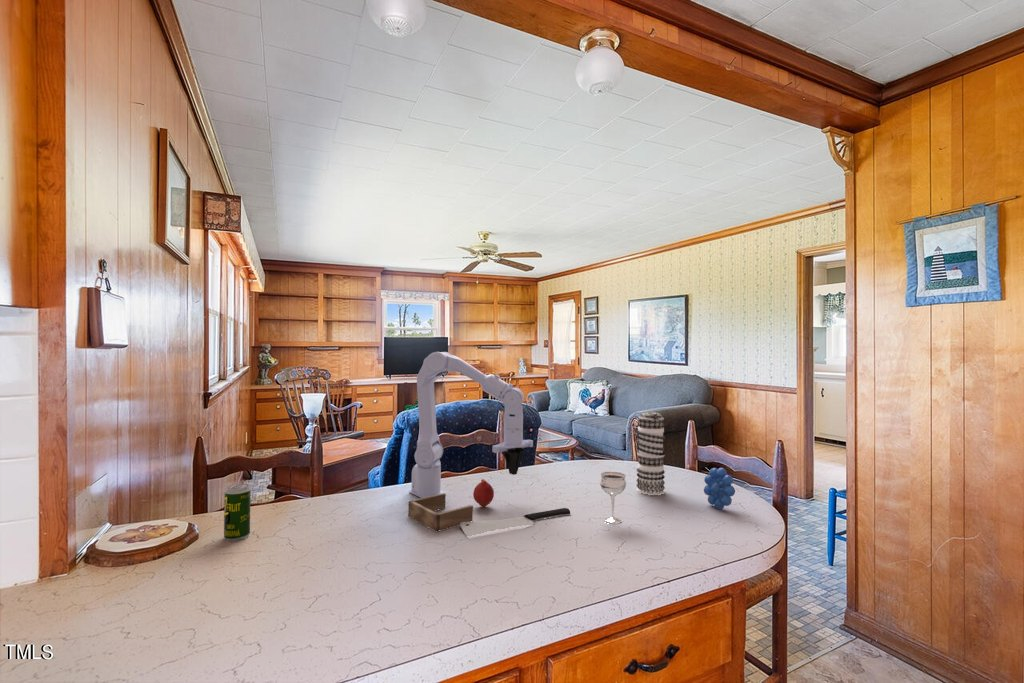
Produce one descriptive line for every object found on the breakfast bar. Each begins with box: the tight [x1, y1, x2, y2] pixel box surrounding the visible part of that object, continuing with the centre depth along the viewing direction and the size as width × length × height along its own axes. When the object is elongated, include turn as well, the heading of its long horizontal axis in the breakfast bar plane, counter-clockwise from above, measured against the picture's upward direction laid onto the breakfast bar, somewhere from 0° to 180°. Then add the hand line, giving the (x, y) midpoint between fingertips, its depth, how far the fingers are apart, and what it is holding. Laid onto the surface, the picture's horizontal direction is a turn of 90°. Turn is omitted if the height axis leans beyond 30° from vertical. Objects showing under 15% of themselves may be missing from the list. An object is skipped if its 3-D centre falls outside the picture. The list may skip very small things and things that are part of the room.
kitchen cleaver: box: [459, 507, 571, 537], centre depth 122 cm, size 31×2×10 cm
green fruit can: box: [223, 483, 252, 542], centre depth 112 cm, size 5×5×12 cm
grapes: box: [703, 467, 736, 510], centre depth 135 cm, size 12×7×12 cm, turn 16°
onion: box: [472, 478, 495, 508], centre depth 135 cm, size 6×6×8 cm
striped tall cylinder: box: [635, 411, 667, 496], centre depth 151 cm, size 9×9×25 cm
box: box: [407, 493, 474, 532], centre depth 125 cm, size 14×11×4 cm
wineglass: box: [599, 471, 627, 523], centre depth 125 cm, size 7×7×12 cm
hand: (513, 473), depth 142 cm, fingers closed
